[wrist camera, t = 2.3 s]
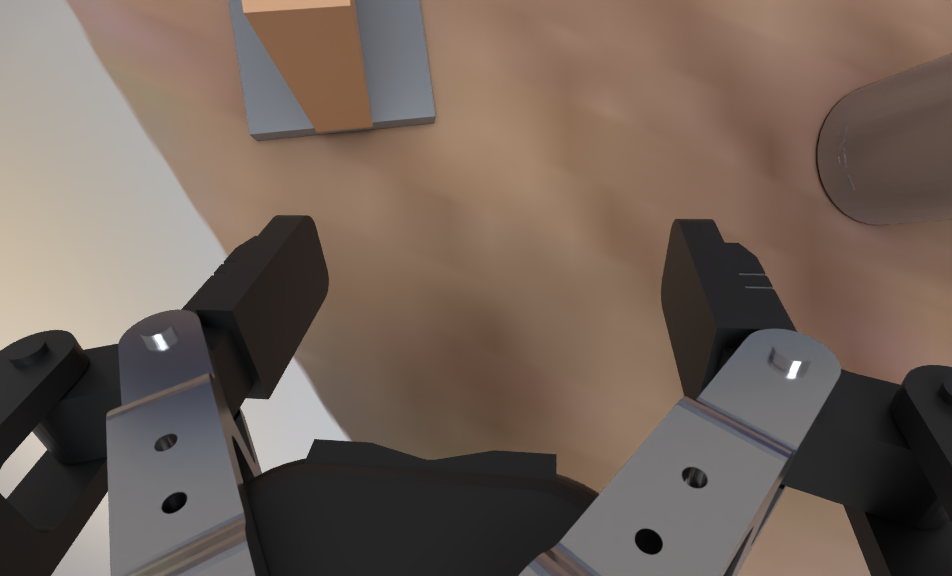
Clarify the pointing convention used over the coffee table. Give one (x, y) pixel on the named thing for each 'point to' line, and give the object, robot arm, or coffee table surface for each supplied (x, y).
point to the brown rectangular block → (317, 57)
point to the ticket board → (385, 60)
